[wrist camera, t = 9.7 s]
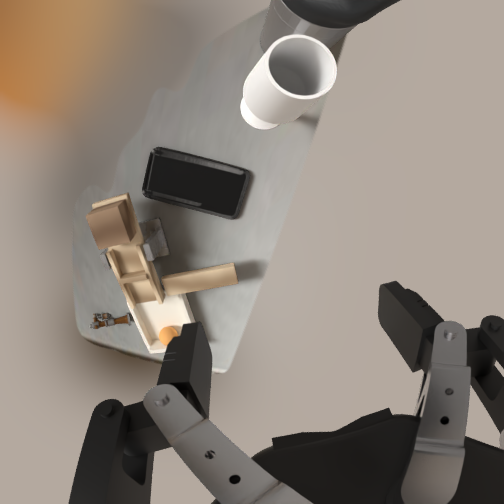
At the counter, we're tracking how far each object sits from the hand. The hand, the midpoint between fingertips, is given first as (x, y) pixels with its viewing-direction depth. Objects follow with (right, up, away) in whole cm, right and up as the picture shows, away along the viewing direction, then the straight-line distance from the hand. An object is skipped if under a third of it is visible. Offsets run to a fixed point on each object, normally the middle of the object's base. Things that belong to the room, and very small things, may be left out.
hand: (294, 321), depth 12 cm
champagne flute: (0, +24, +25) cm, 35 cm away
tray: (-17, -8, +37) cm, 41 cm away
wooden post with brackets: (-28, -9, +37) cm, 47 cm away
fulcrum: (-20, +5, +32) cm, 38 cm away
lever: (-14, +4, +27) cm, 31 cm away
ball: (-17, -12, +36) cm, 41 cm away
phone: (-10, +13, +29) cm, 34 cm away
